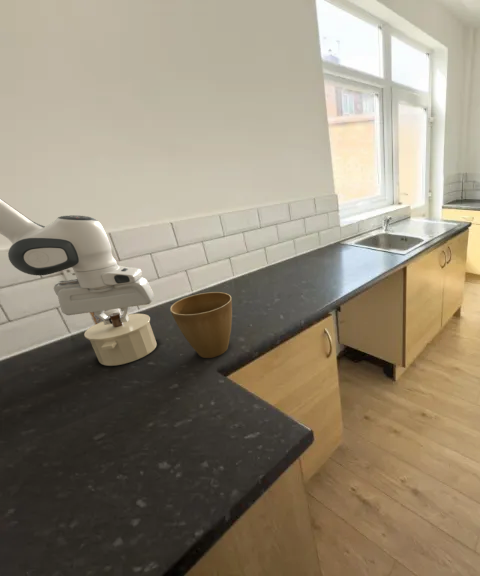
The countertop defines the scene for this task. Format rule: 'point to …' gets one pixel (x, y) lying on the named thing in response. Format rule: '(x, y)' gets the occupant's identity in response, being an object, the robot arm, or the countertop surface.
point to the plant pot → (205, 322)
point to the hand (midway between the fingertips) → (117, 322)
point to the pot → (125, 347)
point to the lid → (117, 327)
